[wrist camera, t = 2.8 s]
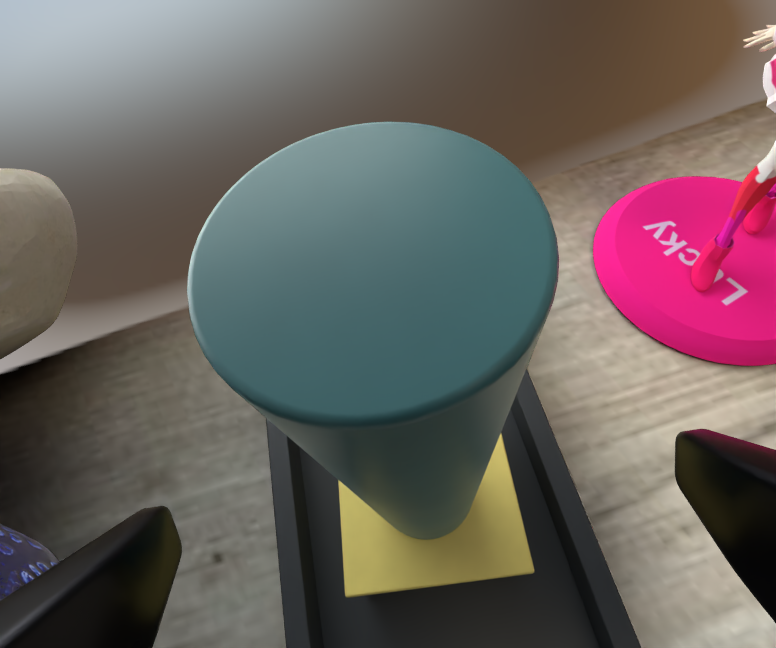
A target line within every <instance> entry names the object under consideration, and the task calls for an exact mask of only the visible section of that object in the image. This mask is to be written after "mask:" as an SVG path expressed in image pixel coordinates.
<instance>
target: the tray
mask: <svg viewBox="0 0 776 648" xmlns="http://www.w3.org/2000/svg"><path fill="white" fill-rule="evenodd" d="M266 424H267V436H268V447H269V458H270V469H271V480H272V492H273V503H274V514H275V525H276V536H277V548H278V559H279V570H280V581H281V593H282V604H283V615H284V626H285V637H286V648H641V646H640V643H639V641H638V639H637V636H636V634H635V631H634V629H633V626H632V624H631V622H630V619H629V617H628V614H627V612H626V609H625V607H624V604H623V602H622V600H621V597H620V595H619V592H618V590H617V587H616V585H615V583H614V580H613V578H612V575H611V573H610V570H609V568H608V566H607V563H606V561H605V558H604V556H603V553H602V551H601V549H600V546H599V544H598V541H597V539H596V536H595V534H594V532H593V529H592V527H591V524H590V522H589V519H588V517H587V515H586V512H585V510H584V507H583V505H582V502H581V500H580V497H579V495H578V493H577V490H576V488H575V485H574V483H573V480H572V478H571V476H570V473H569V471H568V468H567V466H566V463H565V461H564V459H563V456H562V454H561V451H560V449H559V446H558V444H557V442H556V439H555V437H554V434H553V432H552V429H551V427H550V425H549V422H548V420H547V417H546V415H545V412H544V410H543V408H542V405H541V403H540V400H539V398H538V395H537V393H536V390H535V388H534V386H533V383H532V381H531V378H530V376H529V373H528V371H527V369H526V371H525V373H524V376H523V378H522V381H521V383H520V386H519V388H518V391H517V393H516V396H515V399H514V401H513V404H512V406H511V409H510V411H509V414H508V416H507V419H506V421H505V424H504V426H503V429H502V431H501V434H502V438H503V442H504V446H505V450H506V454H507V459H508V463H509V467H510V471H511V475H512V479H513V483H514V488H515V492H516V496H517V500H518V504H519V508H520V513H521V517H522V521H523V525H524V529H525V533H526V537H527V542H528V546H529V550H530V554H531V558H532V562H533V567H534V573H533V574H526V575H518V576H510V577H503V578H495V579H487V580H480V581H472V582H464V583H457V584H449V585H442V586H434V587H426V588H419V589H411V590H403V591H396V592H388V593H380V594H373V595H365V596H357V597H350V598H347V597H346V596H345V586H344V568H343V551H342V534H341V517H340V500H339V483H338V479H337V478H336V477H335V476H333V475H332V474H331V473H330V472H329V471H328V470H326V469H325V468H324V467H323V466H322V465H321V464H319V463H318V462H317V461H316V460H315V459H314V458H312V457H311V456H310V455H309V454H308V453H307V452H305V451H304V450H303V449H302V448H301V447H300V446H298V445H297V444H296V443H295V442H294V441H293V440H291V439H290V438H289V437H288V436H287V435H286V434H284V433H283V432H282V431H281V430H280V429H279V428H277V427H276V426H275V425H274V424H273V423H272V422H270V421H269V420H268V419H267V418H266Z"/></svg>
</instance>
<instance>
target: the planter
mask: <svg viewBox="0 0 776 648" xmlns="http://www.w3.org/2000/svg"><path fill="white" fill-rule="evenodd" d="M59 562H60V561H59V560H58V559H57V558H56V557H55V556H54V555H53V554H52V553H51V552H50V551H49V550H48V549H47V548H46V547H45V546H43V545H42V544H41V543H39V542H38V541H36V540H34V539H33V538H31V537H29V536H27V535H24V534H22V533H20V532H18V531H15V530H13V529H11V528H8V527H6V526H3V525H0V600H2V599H3V598H5V597H6V596H8V595H10V594H11V593H13V592H14V591H16V590H17V589H19V588H20V587H22V586H23V585H25V584H27V583H28V582H30V581H31V580H33V579H34V578H36V577H37V576H39V575H40V574H42V573H44V572H45V571H47V570H48V569H50V568H51V567H53V566H54V565H56V564H57V563H59Z"/></svg>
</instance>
